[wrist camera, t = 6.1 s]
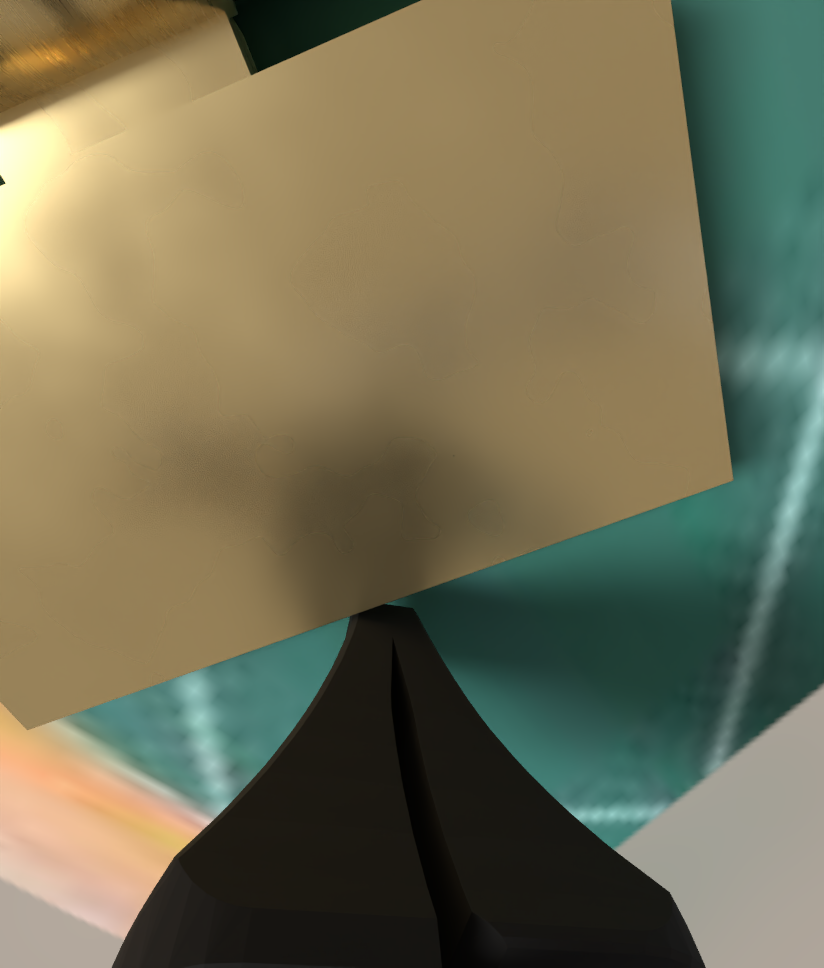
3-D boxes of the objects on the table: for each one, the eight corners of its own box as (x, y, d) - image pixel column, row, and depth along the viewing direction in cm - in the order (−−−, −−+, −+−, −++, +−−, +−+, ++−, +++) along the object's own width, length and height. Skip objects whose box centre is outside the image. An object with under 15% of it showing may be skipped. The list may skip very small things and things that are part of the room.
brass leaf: (674, 441, 12) (779, 511, 9) (76, 658, 13) (-11, 785, 10) (521, -438, 7) (642, -962, 4) (-436, 40, 8) (-921, -79, 5)
